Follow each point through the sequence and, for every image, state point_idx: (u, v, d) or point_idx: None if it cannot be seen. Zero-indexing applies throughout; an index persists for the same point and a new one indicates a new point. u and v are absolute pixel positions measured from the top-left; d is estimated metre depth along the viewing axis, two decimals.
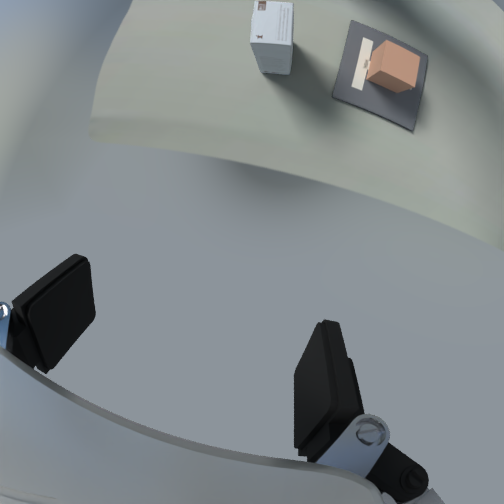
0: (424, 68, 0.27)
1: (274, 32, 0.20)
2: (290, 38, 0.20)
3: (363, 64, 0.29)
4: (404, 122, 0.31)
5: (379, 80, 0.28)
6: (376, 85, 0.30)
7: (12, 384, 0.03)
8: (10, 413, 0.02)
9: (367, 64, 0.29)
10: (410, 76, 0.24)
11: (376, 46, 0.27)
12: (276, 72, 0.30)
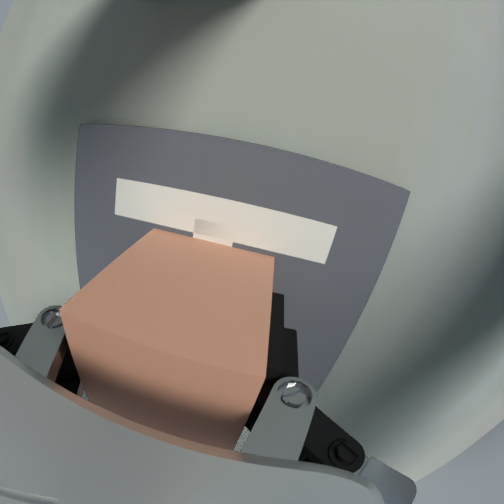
0: None
1: None
2: None
3: (210, 221, 0.10)
4: None
5: None
6: None
7: (12, 384, 0.03)
8: (10, 413, 0.02)
9: (216, 234, 0.11)
10: None
11: (303, 273, 0.11)
12: None
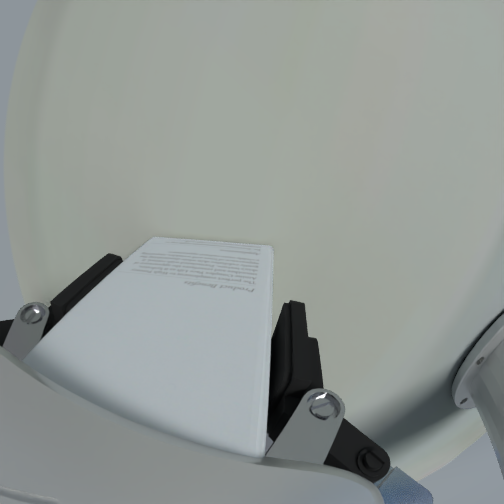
0: None
1: None
2: None
3: None
4: None
5: None
6: None
7: (12, 384, 0.03)
8: (10, 413, 0.02)
9: None
10: None
11: None
12: None
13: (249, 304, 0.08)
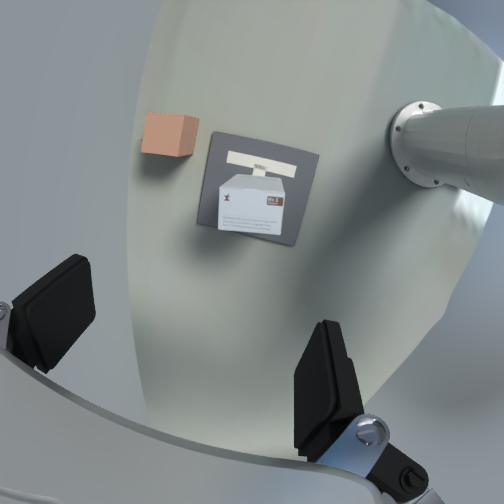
0: (275, 239, 0.38)
1: (233, 213, 0.24)
2: (226, 229, 0.25)
3: (259, 164, 0.34)
4: (203, 212, 0.37)
5: None
6: None
7: (12, 384, 0.03)
8: (10, 413, 0.02)
9: (260, 168, 0.34)
10: (150, 145, 0.29)
11: (287, 181, 0.34)
12: None
13: (277, 182, 0.29)
